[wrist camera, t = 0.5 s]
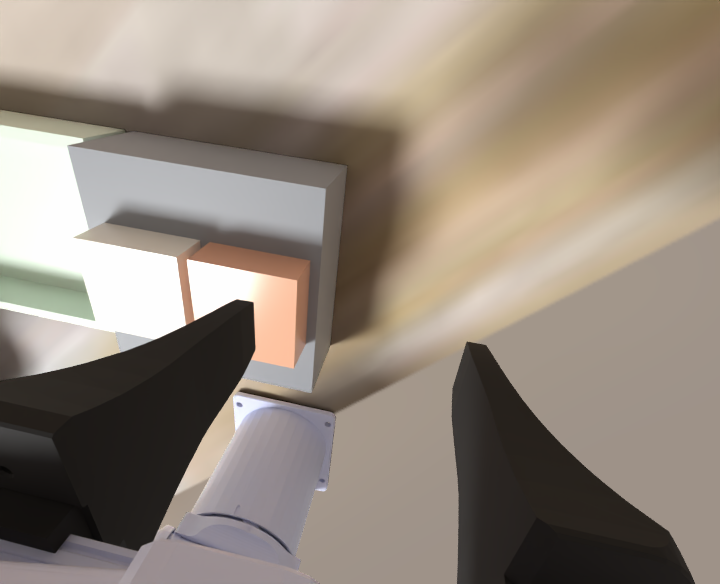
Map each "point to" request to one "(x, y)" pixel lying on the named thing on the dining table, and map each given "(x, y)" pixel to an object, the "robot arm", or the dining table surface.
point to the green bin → (42, 217)
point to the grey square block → (224, 215)
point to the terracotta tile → (256, 295)
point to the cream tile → (137, 278)
